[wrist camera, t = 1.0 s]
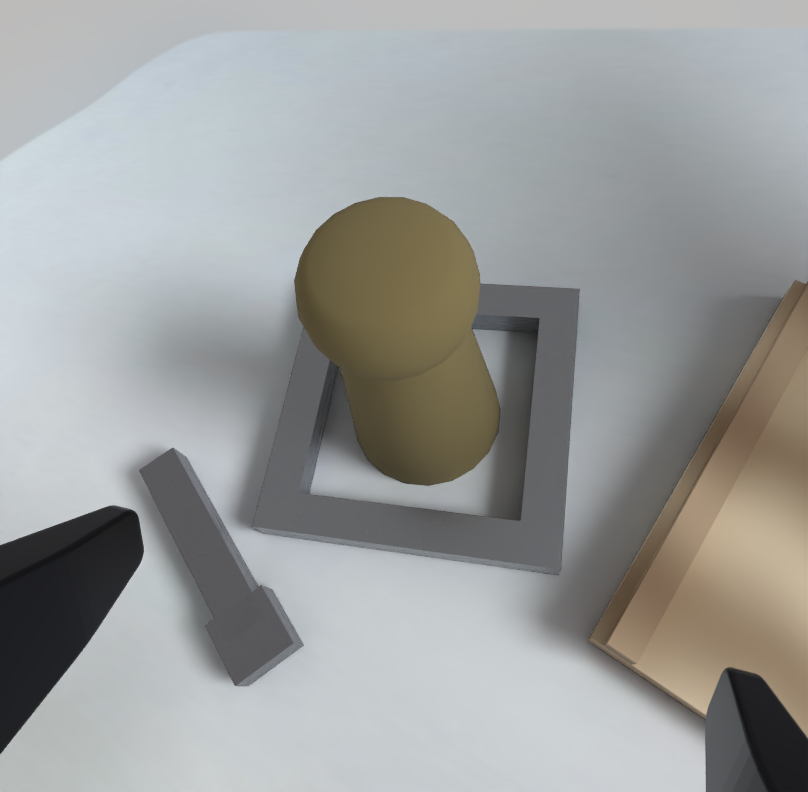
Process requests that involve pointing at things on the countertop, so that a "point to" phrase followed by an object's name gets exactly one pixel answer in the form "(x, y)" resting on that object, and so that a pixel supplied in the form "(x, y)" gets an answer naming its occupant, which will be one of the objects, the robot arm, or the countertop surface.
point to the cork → (402, 335)
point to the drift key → (221, 574)
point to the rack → (731, 542)
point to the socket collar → (422, 528)
